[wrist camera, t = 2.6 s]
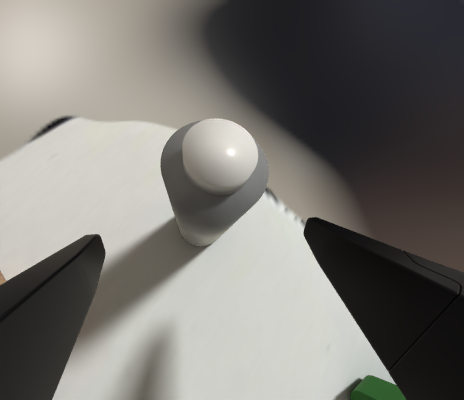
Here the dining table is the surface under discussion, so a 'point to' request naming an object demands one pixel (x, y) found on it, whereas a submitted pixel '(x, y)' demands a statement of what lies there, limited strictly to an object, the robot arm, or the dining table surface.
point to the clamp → (376, 390)
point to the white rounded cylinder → (212, 177)
